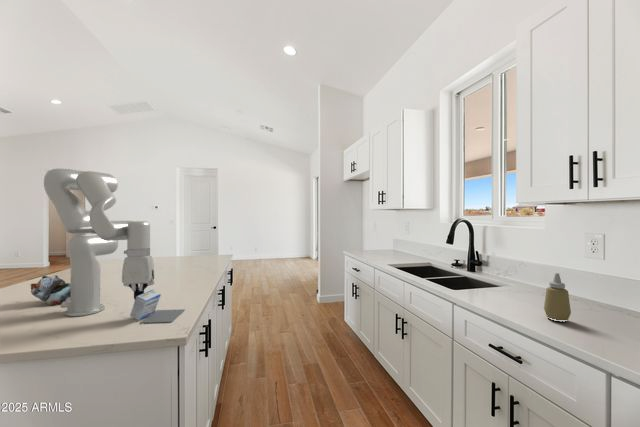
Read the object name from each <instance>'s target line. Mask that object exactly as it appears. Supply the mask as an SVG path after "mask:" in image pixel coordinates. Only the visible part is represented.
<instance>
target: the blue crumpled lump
mask: <svg viewBox="0 0 640 427" xmlns="http://www.w3.org/2000/svg"><path fill="white" fill-rule="evenodd" d="M70 288H71V282H68V283H67V282H66V281H65V280H64V279H62V278H60V277H59V276H58V275H57V274H56V275H53V276H52V277H51V276H47V275H42V276H41V279H40V280H38V281H37V282H35V283H33V282H32V283H30V290H31V291H30V293H31V295H32V296H33V297H35V298H37V299H39V300H40V301H42V302H44V303H46V304H48V305H49V306H61V304H62V302H69V301H70Z"/></svg>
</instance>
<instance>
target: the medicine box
mask: <svg viewBox="0 0 640 427" xmlns="http://www.w3.org/2000/svg"><path fill="white" fill-rule="evenodd" d="M161 295H162V294H161V293H160V292H158V291H156V290H154V289H150V290H148V291H146V292H145V291H144V293H143V294H141V295H138V296H136V299H134V303H133V305H132V308H131V311H130V314H129V316H130V317H132V318H133V319H136V320H138V321H140V322H141V320H144V319H146V318H147V317H148V316H150V315H151V314H152V313H154V312H155V311H157V310H156V309H157V306H158V304H159V302H160V298H161Z"/></svg>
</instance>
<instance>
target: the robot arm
mask: <svg viewBox="0 0 640 427" xmlns="http://www.w3.org/2000/svg"><path fill="white" fill-rule="evenodd" d="M118 184H119V183H118V180H117V179H116V177H115V176H114V175H112V174H110V173H106V172H105V173H104V172H99V171H93V170H92V171H90V170H88V171H87V170H86V171H85V170H77V169H70V168H53V169H52V168H51V169H50V170H48V171H47V172H46V173H45V175H44V178H43V189H44V191H45V194H46V195H47V197H48V198H49V200H50V201H51V203H52V204H53V206H54V208H55V210H56V213H57V216H58V217H59V220H60V222H61V224H62V226H63V228H64V230H65V231H66V232H67V233H68V234H73V235H74V234H75V236H72V237H71V238H70V239H69V240H68V242H67V245H66V246H67V251H68V252H67V253H68V257H69V261H70V262H69V263H70V283H71V288H70V299H69V301H66V302H62V304H61V305H59V307H60V308H61V309H62V308H66V310H65V311H64V315H65V316H67V317H83V316H89V315H93V314H96V313H99V312H102V311H104V310H105V308H106V307H105V305H104V304H102V303H101V265H100V262H99V261H98V258H96V257H98V256H105V255H111V254H113V253H115V252H116V251H117V249H118V247H119V241H125V240H126V244H127V245H126V247H127V248H126V250H124V251H123V254H124V255H126V257H125V256H124V260H123V264H122V271H121V272H122V273H121V282H122V283H123V286H124V287H129V288H130V289H131V290H132V292H133V300H135V299H136V296H138V295H141V294H143V293H145V290H146V289H147V288H148V287H149V286H150V287H151V286H153V285H154V284H155V266H154V259H153V256H152V255H151V224H150V222H148V221H146V220H141V221H140V220H139V221H137V220H136V221H133V220H110V219H109V218H108V216H107V215H106V213H105V212H104V211H107V210H109V209H111V208H112V207H114V205H115V204H116V202H117V198H116V197H115V195H114V194H113V193H114V192H116V191H118V190H117V189H118V188H119V185H118ZM71 191H80V192H82V194H83V195H84V197H85V199H86V200H87V202H88V203H89V204H90V206H91V207H90V210H86V209H85V208H84V206H83V203H82V201H81V200H80V198H79V197H78V196H77V195H75V193H73V192H71Z"/></svg>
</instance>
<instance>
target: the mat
mask: <svg viewBox="0 0 640 427" xmlns="http://www.w3.org/2000/svg"><path fill="white" fill-rule="evenodd" d="M185 311H186V308H185V309H184V308H183V309H157V310H155V312H154V313H152V314H150V315H149V316H147V317H145V318H143V319H142V321H141V320H140V322H139V324H140V323H145V324H169V323H171V324H172V323H173V322H174V321H175V320H176V319H177V318H178V317H180V316H181V315H182V314H183V313H184V312H185Z"/></svg>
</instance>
